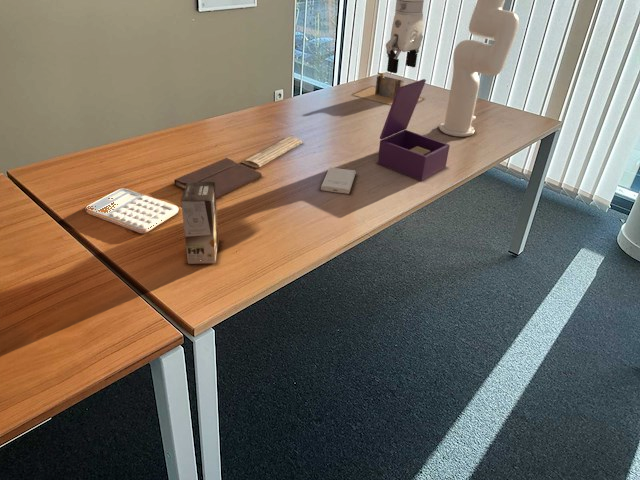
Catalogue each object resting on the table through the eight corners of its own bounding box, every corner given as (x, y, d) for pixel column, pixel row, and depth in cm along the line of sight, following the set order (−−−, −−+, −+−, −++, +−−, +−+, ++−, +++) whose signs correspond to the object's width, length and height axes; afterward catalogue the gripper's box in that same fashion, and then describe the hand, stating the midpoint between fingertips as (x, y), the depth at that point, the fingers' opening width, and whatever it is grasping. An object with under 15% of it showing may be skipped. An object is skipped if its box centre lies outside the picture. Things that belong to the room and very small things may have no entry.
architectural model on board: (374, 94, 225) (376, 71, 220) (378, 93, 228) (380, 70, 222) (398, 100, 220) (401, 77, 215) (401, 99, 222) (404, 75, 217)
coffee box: (216, 263, 119) (211, 201, 110) (187, 264, 118) (180, 201, 109) (219, 241, 126) (215, 181, 118) (192, 241, 126) (185, 181, 117)
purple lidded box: (445, 167, 167) (449, 144, 163) (421, 181, 158) (425, 157, 154) (402, 151, 176) (405, 129, 172) (377, 163, 167) (380, 140, 163)
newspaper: (259, 169, 160) (259, 163, 159) (241, 162, 163) (240, 157, 162) (302, 144, 177) (302, 139, 176) (285, 139, 180) (285, 134, 179)
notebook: (261, 178, 155) (261, 171, 154) (211, 202, 142) (210, 195, 141) (225, 163, 163) (225, 157, 162) (174, 184, 149) (173, 178, 148)
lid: (426, 80, 160) (424, 78, 160) (400, 89, 151) (397, 87, 151) (406, 128, 171) (404, 127, 172) (381, 139, 163) (379, 138, 163)
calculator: (143, 235, 127) (142, 228, 126) (84, 213, 135) (82, 206, 134) (180, 211, 137) (180, 205, 136) (123, 192, 145) (122, 186, 144)
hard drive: (355, 175, 160) (349, 194, 149) (328, 172, 161) (320, 190, 151) (355, 170, 159) (349, 189, 148) (329, 167, 160) (321, 185, 150)
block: (415, 160, 169) (417, 145, 166) (428, 165, 166) (430, 150, 163) (406, 165, 165) (408, 150, 163) (419, 170, 163) (421, 155, 160)
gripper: (403, 12, 139) (395, 77, 149) (437, 5, 150) (427, 66, 160) (380, 8, 143) (373, 71, 153) (414, 1, 154) (406, 61, 164)
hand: (401, 69), depth 156 cm, fingers open, 9 cm apart
